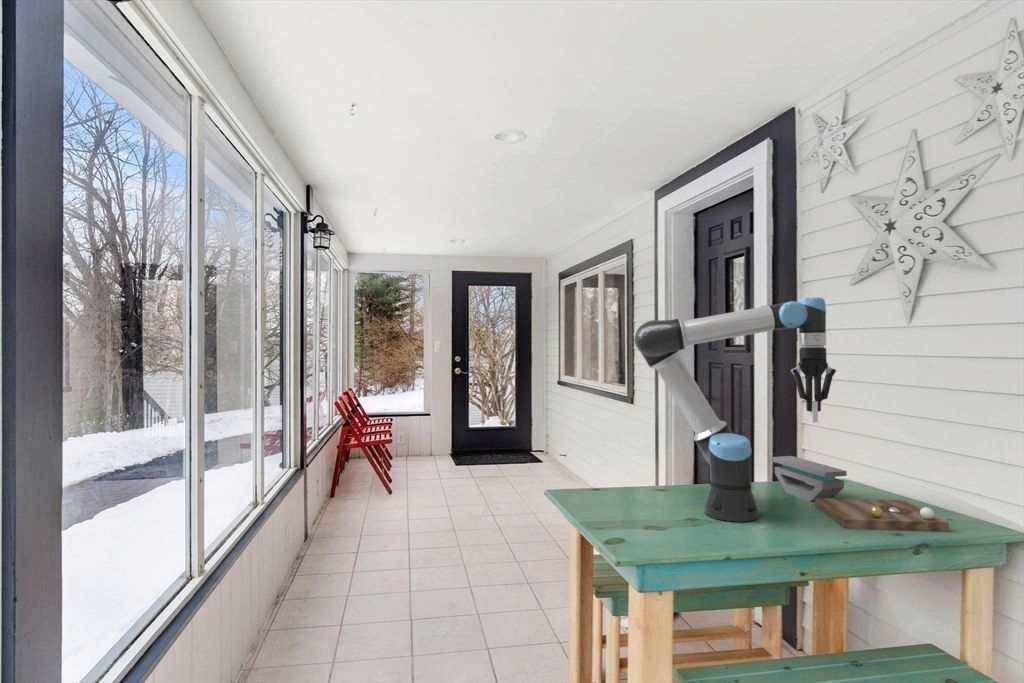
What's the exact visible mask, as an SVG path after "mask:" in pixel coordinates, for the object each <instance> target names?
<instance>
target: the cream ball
mask: <svg viewBox="0 0 1024 683" xmlns="http://www.w3.org/2000/svg"><path fill="white" fill-rule="evenodd" d="M920 515H921V516H922V517H923V518H924V519H932V518H933V517H934V515H935V512H934V510H933V509H932V508H930V507H927V506H924V507H922V508H921V510H920Z"/></svg>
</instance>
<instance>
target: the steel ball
mask: <svg viewBox="0 0 1024 683" xmlns="http://www.w3.org/2000/svg"><path fill="white" fill-rule="evenodd" d="M888 510H889V511H893V512H900V511H899V510H898V509H897V508H894V507H891V508H889V509H888Z"/></svg>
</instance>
